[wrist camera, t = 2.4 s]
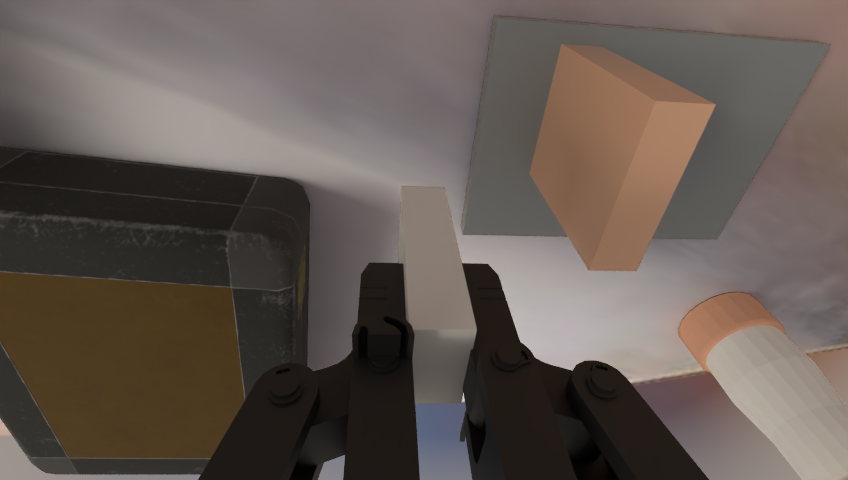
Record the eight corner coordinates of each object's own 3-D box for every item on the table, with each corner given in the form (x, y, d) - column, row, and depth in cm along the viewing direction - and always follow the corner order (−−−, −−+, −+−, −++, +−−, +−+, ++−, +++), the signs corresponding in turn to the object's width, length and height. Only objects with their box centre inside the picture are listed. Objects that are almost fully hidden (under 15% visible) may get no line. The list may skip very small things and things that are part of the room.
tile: (529, 173, 28) (588, 270, 20) (561, 43, 24) (655, 101, 15) (567, 175, 28) (641, 270, 20) (606, 47, 24) (722, 104, 16)
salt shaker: (665, 345, 42) (833, 588, 26) (700, 291, 38) (924, 540, 22) (731, 346, 43) (931, 580, 27) (773, 292, 39) (1037, 533, 23)
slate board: (460, 226, 31) (462, 234, 31) (494, 15, 23) (497, 18, 23) (708, 232, 34) (716, 239, 33) (816, 41, 26) (831, 44, 25)
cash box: (-40, 137, 25) (-179, 205, 19) (312, 177, 28) (292, 245, 22) (81, 393, 39) (25, 479, 33) (307, 399, 43) (294, 479, 36)
